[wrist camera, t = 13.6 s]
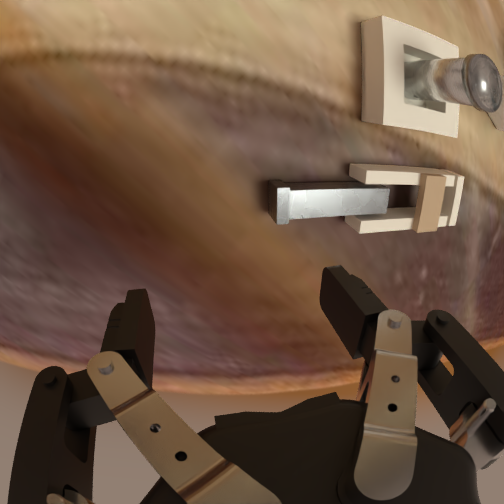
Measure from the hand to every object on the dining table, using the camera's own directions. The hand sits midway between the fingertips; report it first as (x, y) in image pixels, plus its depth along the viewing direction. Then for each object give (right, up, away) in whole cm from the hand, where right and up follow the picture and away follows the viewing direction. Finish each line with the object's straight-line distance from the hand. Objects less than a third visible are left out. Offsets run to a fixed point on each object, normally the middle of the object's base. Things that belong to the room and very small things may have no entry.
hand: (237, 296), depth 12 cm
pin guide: (+16, +8, +16) cm, 23 cm away
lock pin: (+7, +7, +14) cm, 17 cm away
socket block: (+15, +19, +10) cm, 26 cm away
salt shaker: (+16, +19, +10) cm, 26 cm away
